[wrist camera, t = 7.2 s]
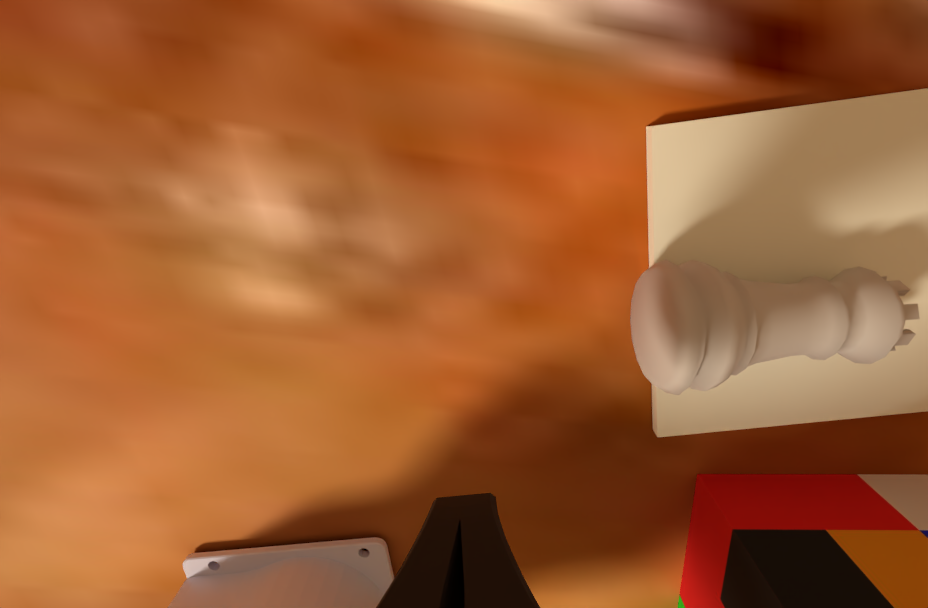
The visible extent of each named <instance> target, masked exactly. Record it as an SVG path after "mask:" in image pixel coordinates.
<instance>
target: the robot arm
mask: <svg viewBox="0 0 928 608" xmlns="http://www.w3.org/2000/svg"><path fill="white" fill-rule="evenodd" d="M362 548H365V549H367V550H368V551H364V550H362ZM214 561H215V562H217V563H215V562H214ZM183 569H184V571H185V574H186V577H187V579H186V581H185V582H184V584H183V585H182V587H181V588H180V590H179V591H178V593H177V594H176V596H175V597H174V599H173V600H172V602H171V603H170V605H169V606H168V608H540V607H539V605H538V603H537V601H536V600H535V598H534V596H533V594H532V592H531V591H530V589H529V587H528V585H527V583H526V581H525V579H524V577H523V575H522V573H521V571H520V569H519V567H518V565H517V563H516V561H515V558H514V556H513V554H512V552H511V549H510V547H509V545H508V542H507V540H506V537H505V535H504V532H503V529H502V526H501V523H500V520H499V516H498V512H497V505H496V497H495V496H493V495H492V494H491V493H485V494H474V495H464V496H453V497H442V498H437V499H436V500H435V501H434V502H433V504H432V506H431V509H430V511H429V513H428V516H427V518H426V520H425V522H424V524H423V526H422V529H421V531H420V533H419V535H418V537H417V539H416V541H415V542H414V544H413V546H412V548H411V550H410V552H409V554H408V555H407V557H406V559H405V561H404V563H403V564H402V566H401V568H400V570H399V571H398V573H397V575H396V577H395V578H394V574H393V570H392V565H391V561H390V556H389V552H388V547H387V544H386V542H385V541H384V540H383V539H381V538H377V537H372V538H360V539H349V540H338V541H326V542H315V543H303V544H292V545H280V546H269V547H258V548H246V549H235V550H223V551H212V552H200V553H192V554H190V555H188V556H187V557H186V559H185V560H184V562H183Z"/></svg>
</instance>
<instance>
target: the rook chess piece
mask: <svg viewBox="0 0 928 608" xmlns="http://www.w3.org/2000/svg"><path fill="white" fill-rule="evenodd" d="M909 291H910V289H909V288H908V287H907V286H906V285H904V284H903V283H902V282H901V281H900V280H894V281H887V276H883V277H881V276H880V275H879V274H877V273H876V272H875V271H872V270H869V269H866V268H863V267H854V268H848V269H844V270H843V271H841V272H840V273H839V274H837V275H836V276H835V277H833V278H832V279H831V280H830V281H828V280H825V279H823V278H820V277H817V276H811V277H806V278H803V279H802V280H800V281H799V282H798V283H789V284H783V283H770V282H758V281H747V280H743V279H738V277H737V276H734V275H732V274H730V273H728V272H726V271H725V272H720V271H719V270H718V269H717V268H715V267H712V266H710V265H708V264H706V263H704V262H699V261H695V260H691V261H688V262H685V263H682V264H680V265H679V266H678V265H676V264H674V263H672V262H670V261H668V260H667V259H665V260H663V261H660V262H657V263H655V264H654V265H652V266H651V267H650V268H649V269H647V270H646V271H645V272H644V273H642V275H641V277H640V278H639V280H638V281H637V283H636V285H635V289H634V293H633V296H632V301H631V317H630V321H631V333H632V342H633V346H634V350H635V354H636V358H637V361H638V363H639V365H640V368H641V370H642V372H643V374H644V375H645V377H646V378H647V379H648V380H649V381H650V382H651V383H652V384H653V385H654V386H656V387H658V388H659V389H661V390H663V391H664V392H666V393H670V394H674V395H680V394H681V393H682V392H683V391H685V390H686V389H687V388H689V387H690V388H691V389H695V390H700V391H707V390H710V389H713V388H715V387H717V386H719V385H720V384H721V383H723V382H724V381H726V380H727V379H728V378H729V377H730V376H731V375H737V374H739V373H740V372H742V371H743V370H745V369H746V368H747V367H748V366H751V365H753V364H756V363H760V362H765V361H770V360H775V359H780V358H784V357H789V356H797V355H806V356H808V357H809V358H811V359H813V360H826V359H827V358H829V357H831V356H833V355H835V354H836V353H838V354H839V355H841V356H843V357H845V358H846V359H848V360H850V361H852V362H854V363H861V364H872V363H874V362H876V361H878V360H880V359H882V358H884V357H886V355H887V354H888V353H889V352H890V351H896V349H895V346H899V345H908V344H909V342H910V341H911V340H912V339H913V337H914V336H915V335H916V334H915V333H914V332H912V331H911V330H909V329H904V325H905V321H906V320H916V319H920V317H919V310H918V304H903V302H902V300H901V298H900V296H904V295H905V294H906V293H908V292H909Z"/></svg>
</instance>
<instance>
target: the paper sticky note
mask: <svg viewBox="0 0 928 608" xmlns="http://www.w3.org/2000/svg"><path fill="white" fill-rule="evenodd" d="M646 148H647V194H648V240H649V268H650V267H651V266H652V265H654V264H655V263H657V262H660V261H663V260H665V259H667V260H668V261H670V262H672V263H674V264H676V265H678V266H679V265H680V264H682V263H685V262H688V261H691V260H695V261H699V262H704V263H706V264H708V265H710V266H712V267H715V268H717V269H718V270H719V271H720V272H725V271H726V272H728V273H730V274H732V275H734V276H737V277H738V279H743V280H747V281H758V282H770V283H783V284H789V283H798V282H799V281H800V280H802V279H803V278H806V277H811V276H817V277H820V278H823V279H825V280H828V281H830V280H831V279H832V278H833V277H835V276H836V275H837V274H839V273H840V272H841V271H843V270H844V269H848V268H854V267H863V268H866V269H869V270H872V271H875V272H876V273H877V274H879V275H880V276H881V277H883V276H887V281H894V280H900V281H901V282H902V283H903V284H904V285H906V286H907V287H908V288H909V289H910V291H909V292H908V293H906V294H905V295H904V296H900V298H901V300H902V302H903V304H918V310H919V317H920V319H916V320H906V321H905V325H904V329H909V330H911V331H912V332H914V333H915V334H916V335H915V336H914V337H913V339H912V340H911V341H910V342H909V344H908V345H899V346H895V349H896V351H890V352H889V353H888V354H887V355H886V357H884V358H882V359H880V360H878V361H876V362H874V363H872V364H861V363H854V362H852V361H850V360H848V359H846V358H845V357H843V356H841V355H839V354H838V353H836V354H835V355H833V356H831V357H829V358H827V359H826V360H813V359H811V358H809V357H808V356H806V355H797V356H789V357H784V358H780V359H775V360H770V361H765V362H760V363H756V364H753V365H751V366H748V367H747V368H746V369H745V370H743V371H742V372H740V373H739V374H737V375H731V376H730V377H729V378H728V379H727V380H726V381H724V382H723V383H721V384H720V385H719V386H717V387H715V388H713V389H710V390H707V391H700V390H695V389H691V388H690V387H689V388H687V389H686V390H685V391H683V392H682V393H681V394H680V395H674V394H670V393H666V392H664V391H663V390H661V389H659V388H658V387H656V386H654V385H653V384H652V424H653V431H654V433H655V434H656V436H657V438H658V437H668V436H678V435H689V434H699V433H709V432H719V431H730V430H740V429H750V428H761V427H771V426H781V425H792V424H802V423H812V422H823V421H833V420H843V419H854V418H864V417H874V416H884V415H895V414H905V413H915V412H926V411H928V88H925V89H918V90H910V91H903V92H896V93H888V94H881V95H874V96H866V97H859V98H852V99H844V100H837V101H830V102H822V103H815V104H808V105H800V106H793V107H786V108H778V109H771V110H764V111H756V112H749V113H742V114H734V115H727V116H720V117H712V118H705V119H698V120H690V121H683V122H676V123H668V124H661V125H654V126H646Z"/></svg>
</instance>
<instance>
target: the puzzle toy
mask: <svg viewBox="0 0 928 608" xmlns="http://www.w3.org/2000/svg"><path fill="white" fill-rule="evenodd" d="M678 608H928V475H923V474H697V479H696V486H695V493H694V499H693V506H692V513H691V520H690V527H689V534H688V541H687V547H686V554H685V561H684V568H683V575H682V582H681V589H680V595H679V602H678Z"/></svg>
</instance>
